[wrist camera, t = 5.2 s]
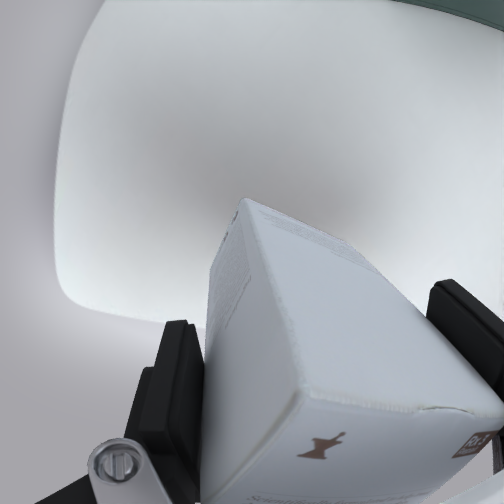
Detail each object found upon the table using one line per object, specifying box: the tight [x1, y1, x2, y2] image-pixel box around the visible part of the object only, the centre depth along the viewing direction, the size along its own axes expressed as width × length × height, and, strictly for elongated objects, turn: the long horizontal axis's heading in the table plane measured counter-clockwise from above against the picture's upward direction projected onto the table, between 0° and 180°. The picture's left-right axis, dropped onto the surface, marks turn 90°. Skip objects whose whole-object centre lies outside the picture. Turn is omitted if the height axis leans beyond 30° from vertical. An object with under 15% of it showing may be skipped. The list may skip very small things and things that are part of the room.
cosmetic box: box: [200, 198, 504, 504], centre depth 10 cm, size 6×4×12 cm
